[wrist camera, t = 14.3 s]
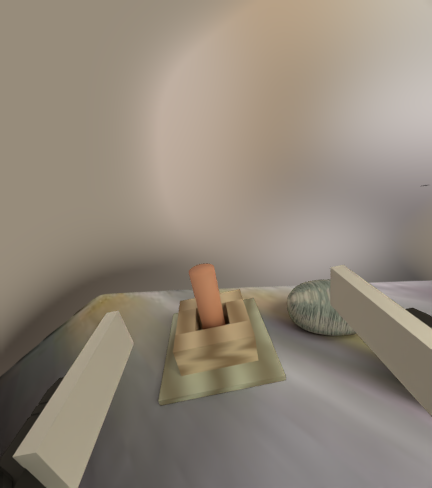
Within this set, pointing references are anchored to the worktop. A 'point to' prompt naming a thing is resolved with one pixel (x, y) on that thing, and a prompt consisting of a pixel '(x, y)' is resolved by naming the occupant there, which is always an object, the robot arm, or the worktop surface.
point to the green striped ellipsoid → (316, 309)
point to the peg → (207, 295)
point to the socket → (218, 352)
